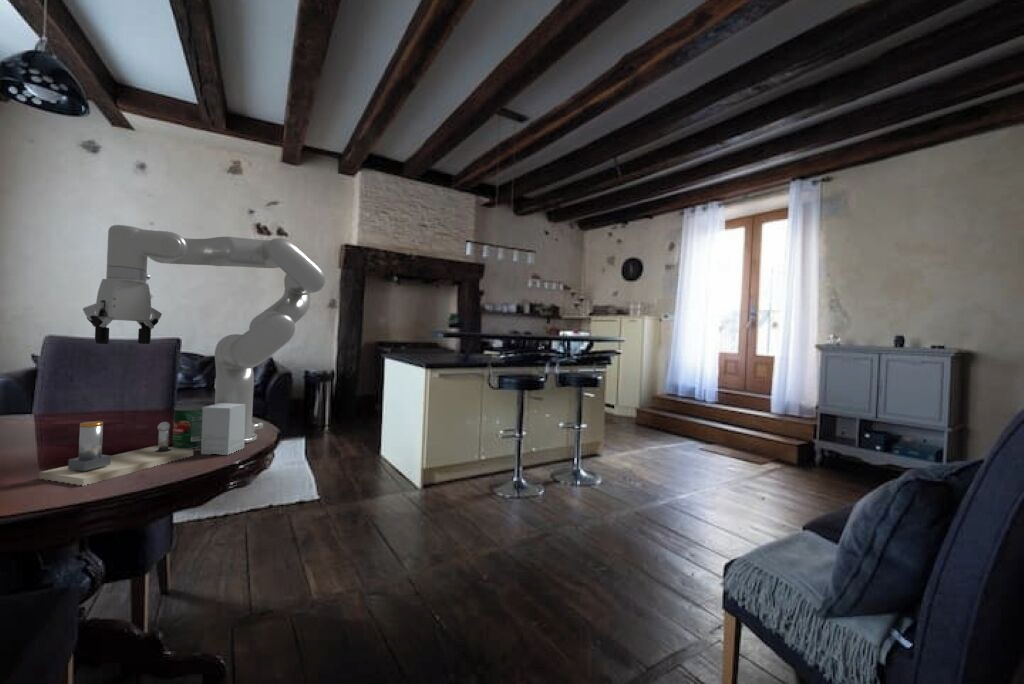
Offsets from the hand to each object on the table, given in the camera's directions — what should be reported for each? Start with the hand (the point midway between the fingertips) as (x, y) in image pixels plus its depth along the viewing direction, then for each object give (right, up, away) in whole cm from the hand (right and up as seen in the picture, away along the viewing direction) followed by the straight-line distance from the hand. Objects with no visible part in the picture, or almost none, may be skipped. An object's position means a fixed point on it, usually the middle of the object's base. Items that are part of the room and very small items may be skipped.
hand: (123, 343), depth 108 cm
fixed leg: (+9, -27, +1) cm, 29 cm away
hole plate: (+7, -29, -8) cm, 31 cm away
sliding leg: (+6, -27, -15) cm, 31 cm away
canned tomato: (+8, -29, +11) cm, 32 cm away
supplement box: (+20, -30, +8) cm, 36 cm away
